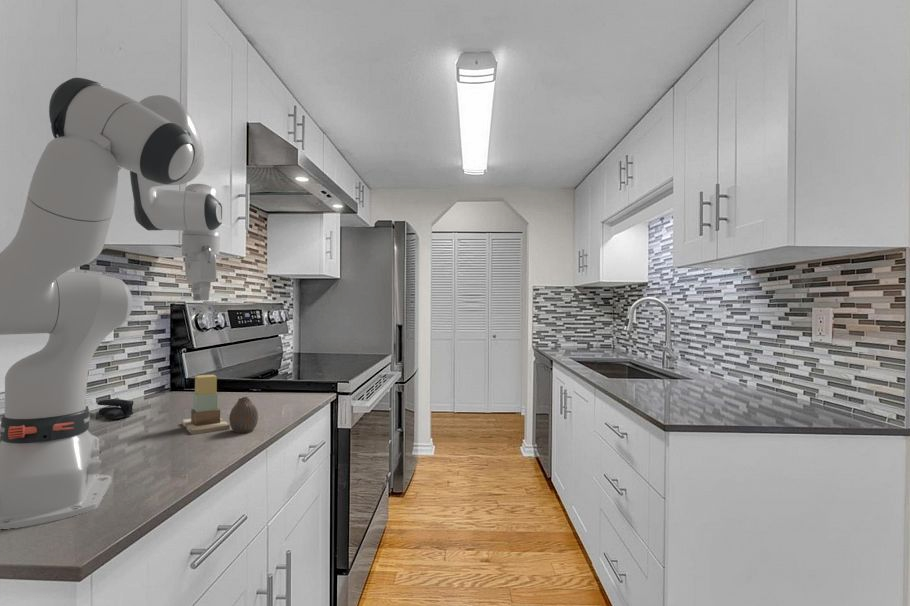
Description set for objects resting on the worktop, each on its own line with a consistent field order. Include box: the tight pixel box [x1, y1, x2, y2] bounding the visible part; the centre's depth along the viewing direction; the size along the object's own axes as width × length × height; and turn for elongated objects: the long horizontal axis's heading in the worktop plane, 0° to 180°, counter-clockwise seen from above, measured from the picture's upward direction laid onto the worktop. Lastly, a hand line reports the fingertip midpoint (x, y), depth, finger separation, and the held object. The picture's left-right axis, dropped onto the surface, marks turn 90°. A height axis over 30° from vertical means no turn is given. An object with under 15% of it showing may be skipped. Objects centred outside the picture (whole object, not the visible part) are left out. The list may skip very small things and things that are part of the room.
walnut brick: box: [190, 407, 221, 426], centre depth 134 cm, size 6×6×4 cm
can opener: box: [96, 397, 134, 421], centre depth 147 cm, size 18×7×6 cm, turn 55°
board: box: [181, 417, 231, 435], centre depth 134 cm, size 14×9×1 cm, turn 37°
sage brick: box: [192, 391, 218, 412], centre depth 134 cm, size 5×5×4 cm
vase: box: [228, 396, 259, 434], centre depth 130 cm, size 7×7×9 cm
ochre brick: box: [194, 374, 218, 395], centre depth 134 cm, size 4×4×4 cm
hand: (200, 300), depth 131 cm, fingers open, 8 cm apart
